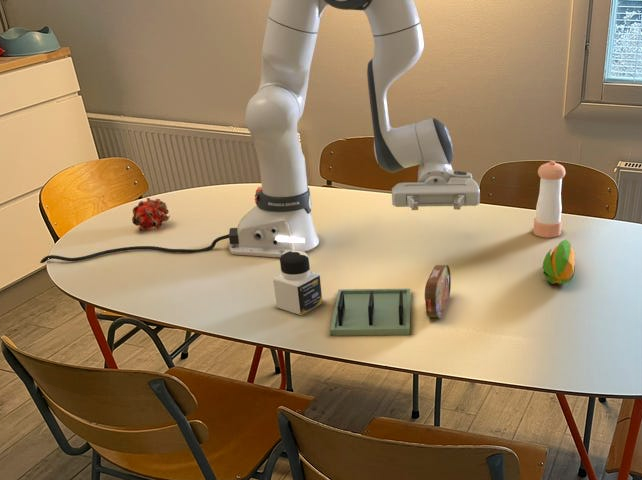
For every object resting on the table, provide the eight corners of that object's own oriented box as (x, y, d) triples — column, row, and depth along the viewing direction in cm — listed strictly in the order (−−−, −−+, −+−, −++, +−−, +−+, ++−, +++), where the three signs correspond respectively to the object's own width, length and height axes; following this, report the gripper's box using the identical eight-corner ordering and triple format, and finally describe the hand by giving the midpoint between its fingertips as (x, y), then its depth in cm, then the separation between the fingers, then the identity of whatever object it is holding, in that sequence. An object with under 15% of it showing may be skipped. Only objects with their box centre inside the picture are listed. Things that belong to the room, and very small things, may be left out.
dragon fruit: (173, 225, 206) (143, 246, 197) (149, 205, 205) (117, 225, 197) (180, 205, 199) (149, 226, 191) (155, 185, 199) (123, 205, 190)
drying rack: (330, 335, 149) (328, 314, 147) (338, 294, 165) (337, 274, 163) (409, 334, 150) (408, 313, 147) (410, 294, 166) (410, 273, 163)
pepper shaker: (565, 231, 199) (571, 160, 189) (553, 239, 193) (559, 167, 183) (540, 225, 202) (545, 155, 192) (528, 234, 197) (533, 162, 187)
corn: (542, 258, 164) (551, 226, 180) (537, 289, 168) (546, 255, 184) (575, 263, 162) (581, 230, 179) (570, 294, 167) (576, 259, 183)
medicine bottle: (301, 316, 157) (295, 263, 150) (276, 308, 160) (269, 256, 154) (323, 303, 162) (318, 252, 156) (298, 295, 165) (292, 245, 159)
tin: (437, 325, 153) (437, 288, 149) (422, 323, 154) (422, 287, 150) (451, 293, 166) (452, 258, 162) (438, 292, 167) (438, 257, 162)
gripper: (391, 174, 175) (388, 193, 163) (478, 172, 175) (481, 192, 163) (392, 199, 178) (389, 220, 166) (477, 198, 178) (480, 219, 167)
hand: (435, 206), depth 165 cm, fingers open, 8 cm apart
